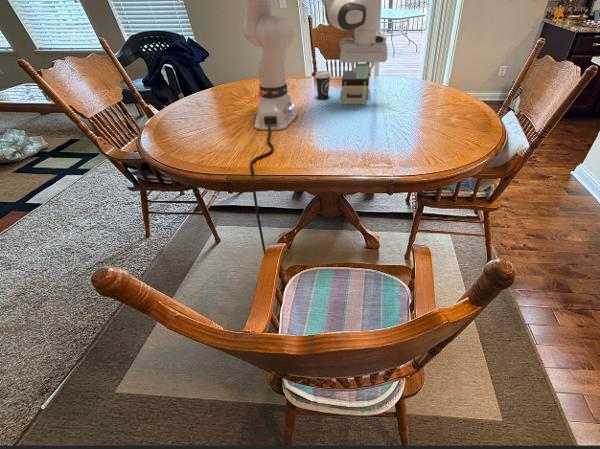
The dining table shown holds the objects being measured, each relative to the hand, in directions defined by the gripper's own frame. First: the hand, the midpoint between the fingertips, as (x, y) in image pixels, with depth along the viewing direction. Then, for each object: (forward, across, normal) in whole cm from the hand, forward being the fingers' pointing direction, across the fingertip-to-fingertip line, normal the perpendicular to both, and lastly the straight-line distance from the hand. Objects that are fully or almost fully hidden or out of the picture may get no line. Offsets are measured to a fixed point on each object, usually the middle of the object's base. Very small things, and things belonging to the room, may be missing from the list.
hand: (362, 73), depth 135 cm
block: (+2, 0, 0) cm, 2 cm away
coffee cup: (+15, -19, +12) cm, 26 cm away
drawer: (+14, -3, +4) cm, 14 cm away
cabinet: (+14, -3, +16) cm, 22 cm away
